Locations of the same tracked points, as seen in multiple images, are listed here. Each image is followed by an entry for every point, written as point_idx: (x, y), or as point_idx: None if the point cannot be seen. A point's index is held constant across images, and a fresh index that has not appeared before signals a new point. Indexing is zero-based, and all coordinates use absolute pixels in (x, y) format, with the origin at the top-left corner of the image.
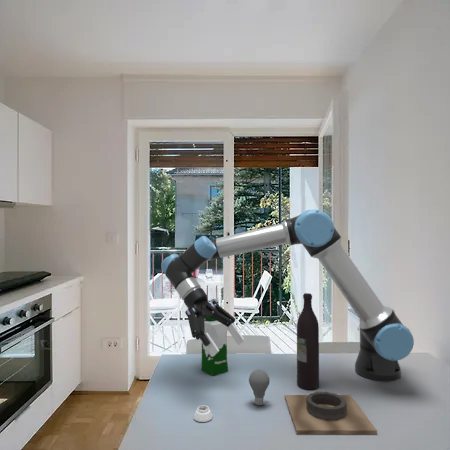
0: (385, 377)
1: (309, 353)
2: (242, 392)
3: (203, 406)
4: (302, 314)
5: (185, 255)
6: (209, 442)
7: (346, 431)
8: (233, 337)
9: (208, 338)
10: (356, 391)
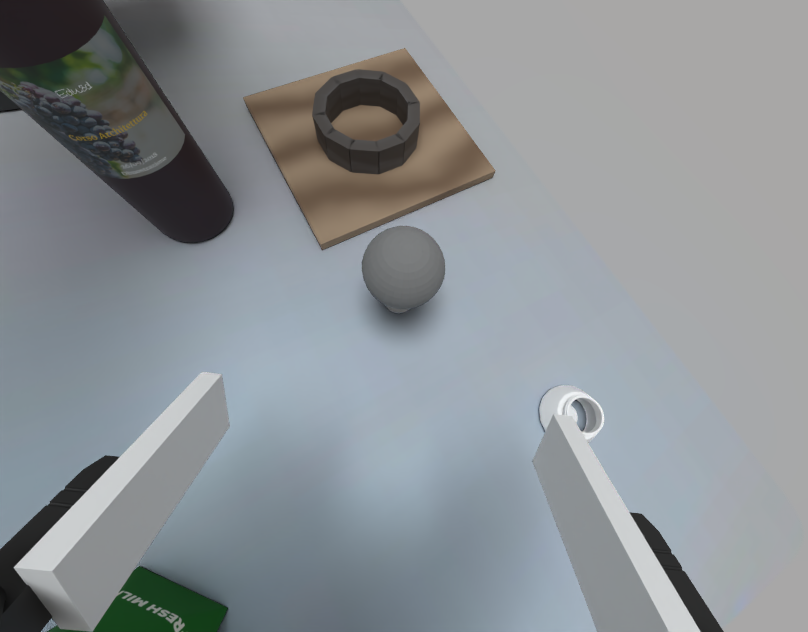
0: None
1: (158, 86)
2: (340, 388)
3: None
4: None
5: None
6: (645, 332)
7: (436, 93)
8: (185, 486)
9: (643, 552)
10: (192, 98)
